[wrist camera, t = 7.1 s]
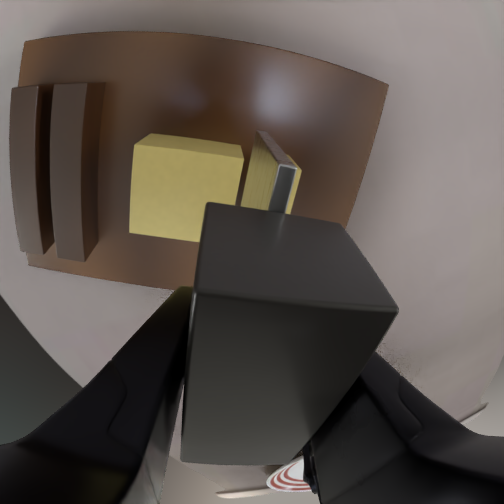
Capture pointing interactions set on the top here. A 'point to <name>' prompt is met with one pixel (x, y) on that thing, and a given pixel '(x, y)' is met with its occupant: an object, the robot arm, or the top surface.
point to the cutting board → (175, 124)
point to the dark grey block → (273, 322)
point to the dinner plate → (289, 477)
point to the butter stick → (180, 183)
